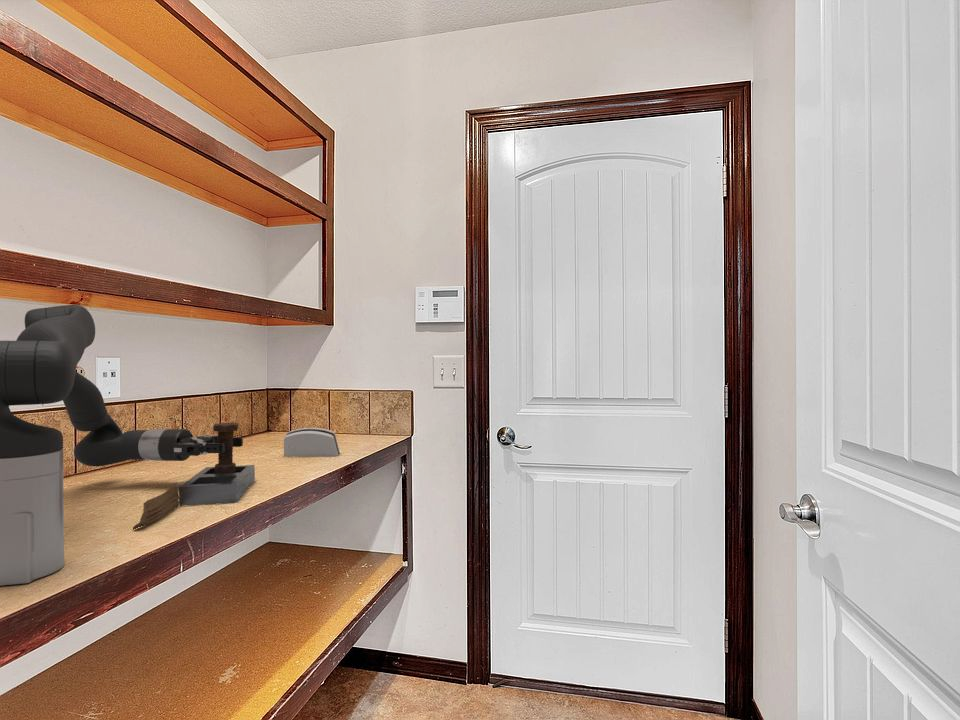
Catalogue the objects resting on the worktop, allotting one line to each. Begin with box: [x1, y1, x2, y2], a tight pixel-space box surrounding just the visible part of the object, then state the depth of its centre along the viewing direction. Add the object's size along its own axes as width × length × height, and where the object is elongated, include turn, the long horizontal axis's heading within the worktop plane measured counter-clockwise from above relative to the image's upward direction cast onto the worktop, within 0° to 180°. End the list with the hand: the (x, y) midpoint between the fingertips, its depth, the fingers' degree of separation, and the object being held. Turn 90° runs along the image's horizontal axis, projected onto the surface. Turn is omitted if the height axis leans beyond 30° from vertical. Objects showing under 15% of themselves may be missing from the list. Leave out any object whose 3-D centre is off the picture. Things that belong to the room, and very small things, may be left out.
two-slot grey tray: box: [178, 464, 256, 507], centre depth 120 cm, size 20×11×4 cm, turn 13°
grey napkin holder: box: [283, 427, 341, 458], centre depth 164 cm, size 17×5×10 cm, turn 93°
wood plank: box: [132, 482, 180, 531], centre depth 101 cm, size 15×2×5 cm, turn 8°
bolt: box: [212, 422, 239, 474], centre depth 124 cm, size 6×5×15 cm
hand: (233, 445), depth 124 cm, fingers open, 8 cm apart
